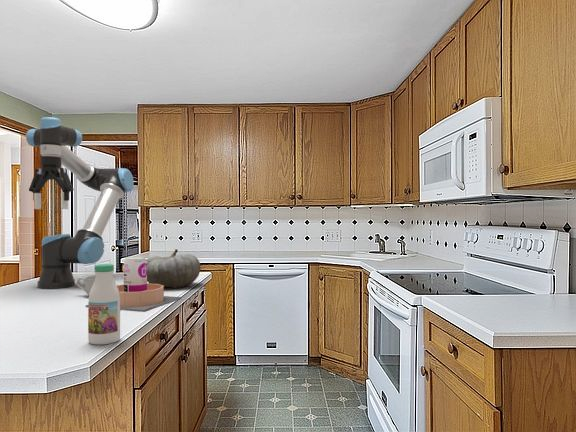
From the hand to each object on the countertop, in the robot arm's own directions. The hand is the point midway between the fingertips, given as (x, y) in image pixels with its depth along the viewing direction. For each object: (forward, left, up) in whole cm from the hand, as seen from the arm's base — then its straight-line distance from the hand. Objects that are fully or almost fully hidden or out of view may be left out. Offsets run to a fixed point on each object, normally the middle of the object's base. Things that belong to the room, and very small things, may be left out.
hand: (51, 209), depth 183 cm
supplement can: (+3, +42, -33) cm, 54 cm away
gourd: (-33, +35, -35) cm, 59 cm away
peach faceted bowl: (+3, +42, -35) cm, 55 cm away
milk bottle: (+48, +65, -35) cm, 88 cm away
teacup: (-4, +18, -35) cm, 40 cm away
